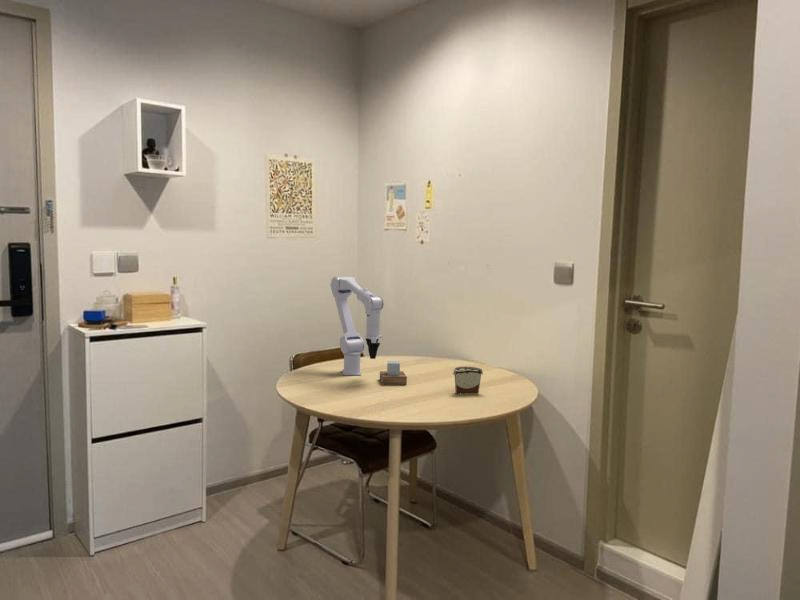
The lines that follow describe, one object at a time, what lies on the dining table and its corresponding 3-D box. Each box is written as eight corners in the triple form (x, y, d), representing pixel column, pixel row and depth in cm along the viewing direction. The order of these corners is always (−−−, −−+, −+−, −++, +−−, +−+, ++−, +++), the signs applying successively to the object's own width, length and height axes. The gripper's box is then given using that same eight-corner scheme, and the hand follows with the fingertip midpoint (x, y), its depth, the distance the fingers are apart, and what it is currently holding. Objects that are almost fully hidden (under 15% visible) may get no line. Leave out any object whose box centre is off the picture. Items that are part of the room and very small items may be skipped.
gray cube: (387, 372, 256) (387, 360, 255) (398, 372, 256) (399, 361, 256) (387, 375, 251) (388, 363, 250) (399, 375, 251) (399, 363, 251)
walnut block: (379, 380, 258) (379, 371, 257) (402, 380, 260) (402, 371, 259) (382, 386, 248) (383, 376, 248) (406, 386, 250) (406, 376, 249)
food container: (476, 389, 246) (477, 365, 245) (481, 393, 241) (483, 369, 239) (447, 390, 243) (449, 366, 242) (452, 394, 238) (454, 369, 236)
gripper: (383, 328, 245) (382, 360, 247) (381, 322, 260) (380, 353, 261) (366, 327, 245) (365, 360, 246) (365, 322, 259) (364, 353, 260)
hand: (372, 356), depth 254 cm, fingers open, 7 cm apart
